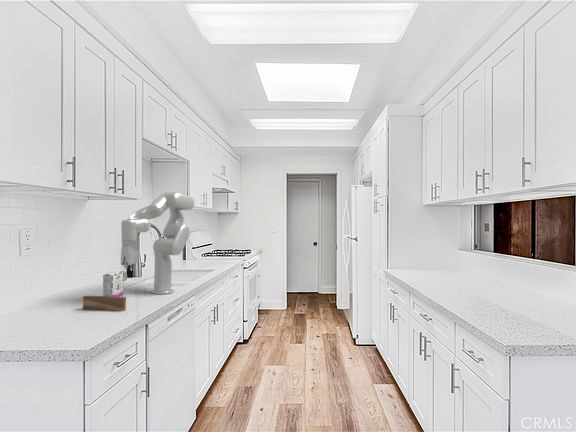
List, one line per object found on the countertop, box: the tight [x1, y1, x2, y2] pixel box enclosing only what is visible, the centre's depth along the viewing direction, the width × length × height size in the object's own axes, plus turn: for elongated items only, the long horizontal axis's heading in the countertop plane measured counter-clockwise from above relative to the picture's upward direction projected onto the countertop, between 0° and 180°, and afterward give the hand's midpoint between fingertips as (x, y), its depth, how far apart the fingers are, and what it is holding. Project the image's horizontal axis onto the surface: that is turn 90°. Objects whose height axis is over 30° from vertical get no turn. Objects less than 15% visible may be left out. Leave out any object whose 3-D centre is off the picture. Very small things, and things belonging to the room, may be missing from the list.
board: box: [82, 295, 127, 312], centre depth 191 cm, size 2×20×6 cm, turn 84°
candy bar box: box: [102, 271, 124, 297], centre depth 197 cm, size 11×5×16 cm, turn 176°
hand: (130, 277), depth 215 cm, fingers closed
